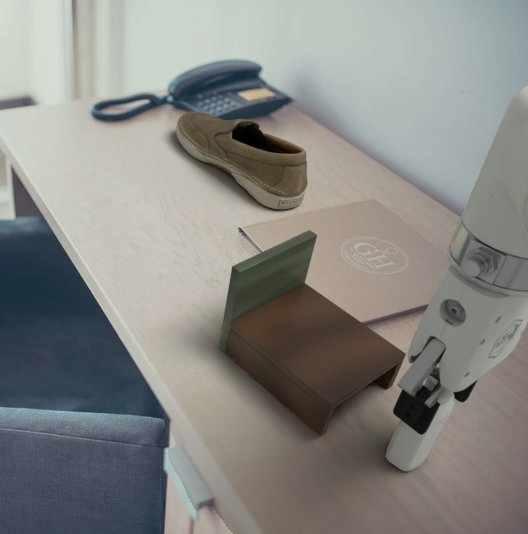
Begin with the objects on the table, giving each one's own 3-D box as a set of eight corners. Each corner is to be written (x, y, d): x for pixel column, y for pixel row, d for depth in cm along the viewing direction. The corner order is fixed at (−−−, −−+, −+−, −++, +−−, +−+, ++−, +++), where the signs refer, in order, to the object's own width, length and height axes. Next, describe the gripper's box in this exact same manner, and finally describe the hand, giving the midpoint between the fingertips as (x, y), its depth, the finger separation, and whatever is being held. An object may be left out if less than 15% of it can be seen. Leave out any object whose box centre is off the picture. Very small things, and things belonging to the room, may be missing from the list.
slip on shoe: (164, 134, 116) (167, 87, 110) (217, 124, 120) (223, 78, 114) (257, 220, 95) (267, 166, 90) (318, 204, 99) (331, 152, 94)
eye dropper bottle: (445, 464, 63) (492, 380, 55) (395, 475, 61) (436, 392, 54) (419, 428, 66) (460, 345, 58) (370, 439, 65) (406, 355, 57)
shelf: (392, 385, 70) (427, 303, 63) (319, 437, 65) (348, 353, 57) (289, 308, 80) (309, 229, 72) (218, 347, 74) (231, 266, 67)
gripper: (491, 322, 42) (408, 483, 53) (610, 237, 50) (516, 392, 61) (394, 263, 47) (336, 422, 58) (517, 195, 55) (446, 346, 66)
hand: (430, 405), depth 59 cm, fingers closed on eye dropper bottle, 5 cm apart
